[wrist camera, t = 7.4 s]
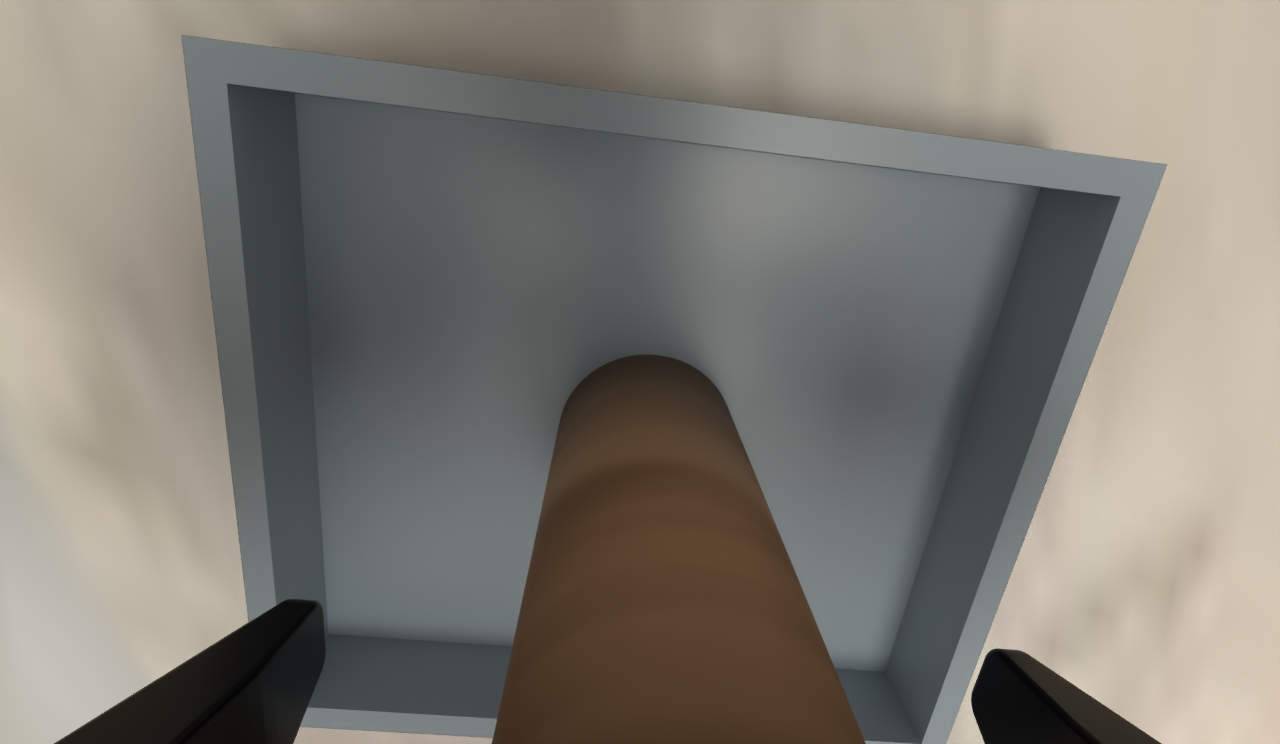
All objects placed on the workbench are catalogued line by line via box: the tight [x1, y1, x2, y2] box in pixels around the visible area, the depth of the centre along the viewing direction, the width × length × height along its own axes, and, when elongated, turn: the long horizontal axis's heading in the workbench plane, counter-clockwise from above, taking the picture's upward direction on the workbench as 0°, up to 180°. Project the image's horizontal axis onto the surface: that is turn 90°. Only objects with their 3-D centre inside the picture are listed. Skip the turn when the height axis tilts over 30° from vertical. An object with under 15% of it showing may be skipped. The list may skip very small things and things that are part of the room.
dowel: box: [492, 354, 866, 744], centre depth 10 cm, size 4×4×10 cm
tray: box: [182, 35, 1167, 744], centre depth 14 cm, size 14×16×3 cm
